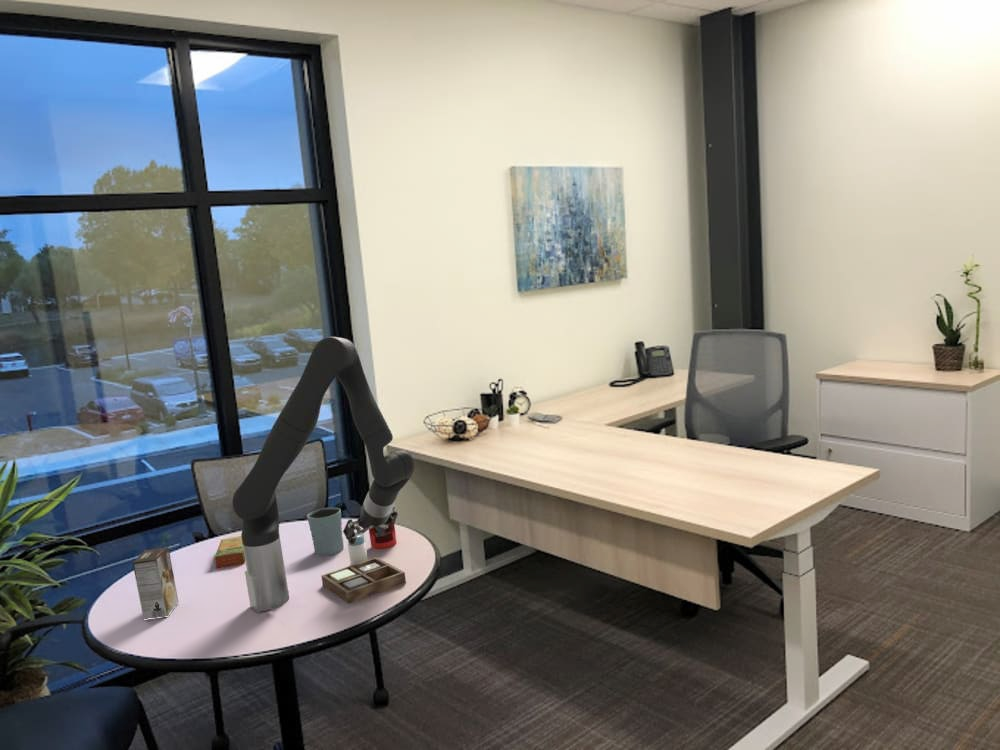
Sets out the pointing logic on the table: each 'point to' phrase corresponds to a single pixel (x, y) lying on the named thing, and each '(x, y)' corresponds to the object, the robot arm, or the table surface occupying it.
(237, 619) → the table surface
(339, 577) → the note block
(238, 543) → the carton
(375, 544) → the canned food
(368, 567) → the grey rectangular block
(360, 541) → the glue stick
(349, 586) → the eraser
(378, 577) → the organizer
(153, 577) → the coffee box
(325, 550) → the green cup
